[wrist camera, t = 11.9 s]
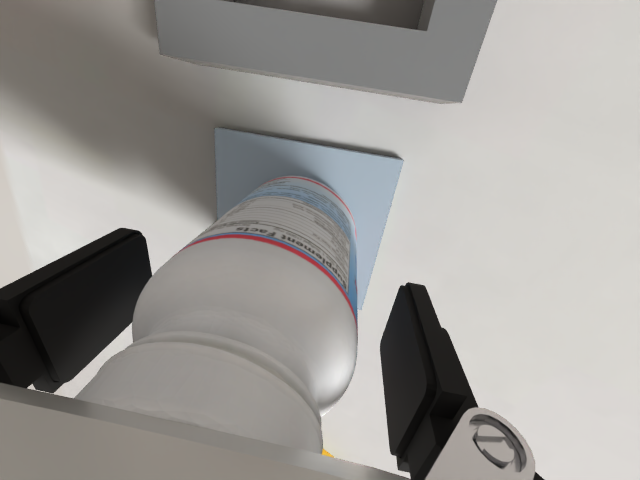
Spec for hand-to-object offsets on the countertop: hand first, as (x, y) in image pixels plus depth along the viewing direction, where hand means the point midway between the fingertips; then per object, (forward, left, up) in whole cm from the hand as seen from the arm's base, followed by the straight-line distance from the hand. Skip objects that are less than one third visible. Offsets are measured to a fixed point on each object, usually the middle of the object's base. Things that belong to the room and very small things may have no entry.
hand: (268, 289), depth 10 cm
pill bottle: (0, 0, -5) cm, 6 cm away
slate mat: (0, 0, -6) cm, 6 cm away
